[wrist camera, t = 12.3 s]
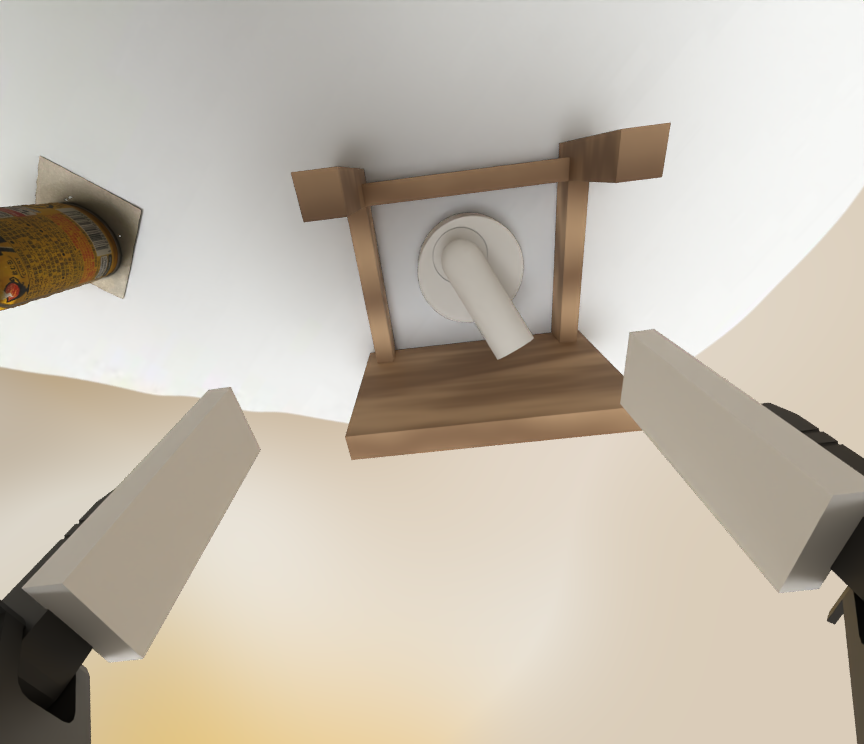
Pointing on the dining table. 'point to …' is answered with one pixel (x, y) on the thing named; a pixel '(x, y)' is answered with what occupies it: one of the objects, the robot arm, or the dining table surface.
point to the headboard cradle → (474, 361)
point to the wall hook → (475, 278)
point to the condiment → (65, 239)
